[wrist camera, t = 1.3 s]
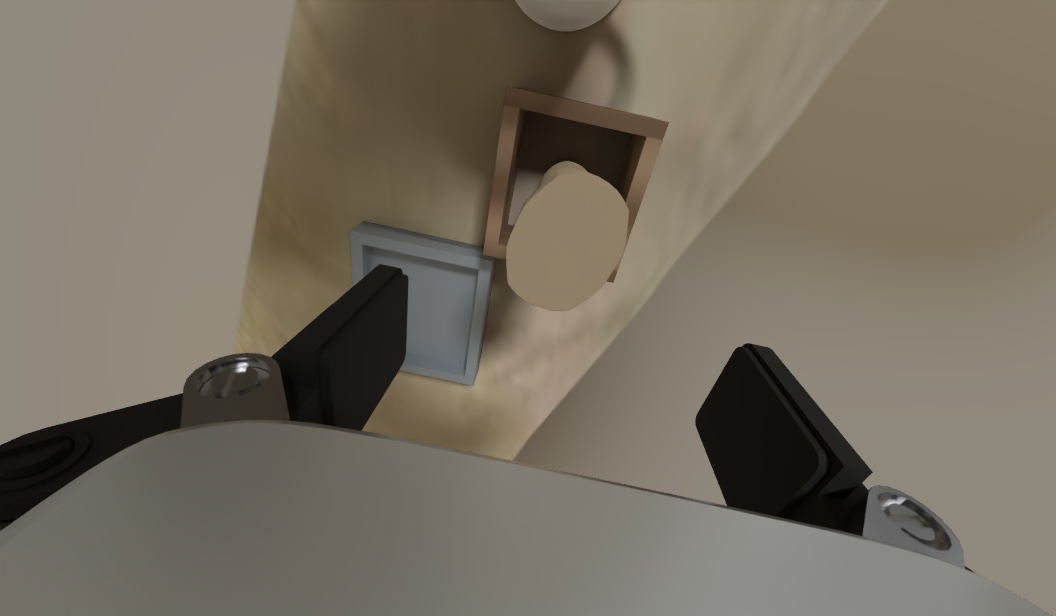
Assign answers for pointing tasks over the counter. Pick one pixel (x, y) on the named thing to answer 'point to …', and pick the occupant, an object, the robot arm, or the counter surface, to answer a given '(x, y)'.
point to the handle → (566, 238)
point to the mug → (566, 12)
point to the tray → (433, 296)
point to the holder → (520, 100)
